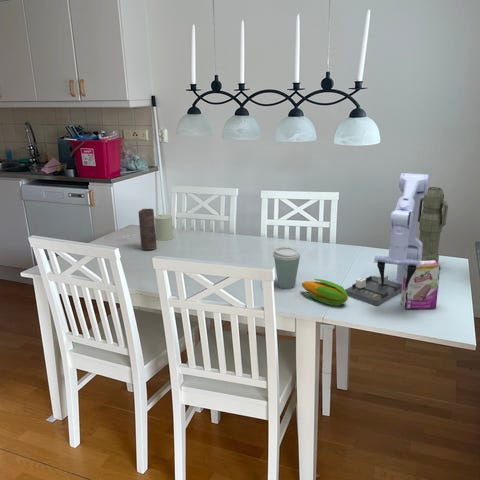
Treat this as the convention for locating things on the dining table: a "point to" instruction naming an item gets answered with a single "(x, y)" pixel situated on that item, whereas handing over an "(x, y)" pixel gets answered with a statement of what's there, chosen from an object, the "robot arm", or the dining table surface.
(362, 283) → the fader tab
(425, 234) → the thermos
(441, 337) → the dining table surface
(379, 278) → the fader
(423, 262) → the candy bar box
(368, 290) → the console
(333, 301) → the corn
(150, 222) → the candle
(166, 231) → the can
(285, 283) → the disposable coffee cup
